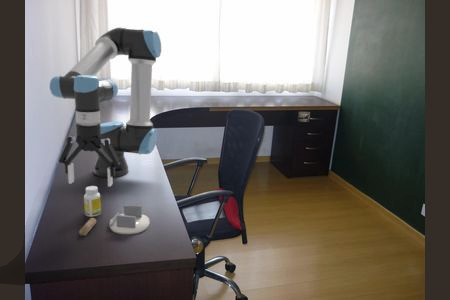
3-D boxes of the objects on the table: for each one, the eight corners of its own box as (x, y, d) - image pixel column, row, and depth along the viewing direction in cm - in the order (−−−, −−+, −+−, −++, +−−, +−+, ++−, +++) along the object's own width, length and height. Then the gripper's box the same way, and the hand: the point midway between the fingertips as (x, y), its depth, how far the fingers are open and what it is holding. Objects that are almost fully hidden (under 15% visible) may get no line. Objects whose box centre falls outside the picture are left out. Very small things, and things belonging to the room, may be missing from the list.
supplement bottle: (102, 210, 134) (101, 185, 131) (98, 217, 128) (97, 191, 126) (87, 209, 133) (86, 184, 131) (82, 216, 128) (81, 190, 125)
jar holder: (117, 214, 131) (116, 201, 130) (153, 217, 131) (153, 203, 129) (103, 232, 119) (103, 218, 117) (143, 235, 118) (143, 221, 117)
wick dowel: (89, 217, 124) (96, 218, 123) (89, 223, 124) (96, 224, 124) (79, 228, 116) (86, 229, 116) (79, 235, 117) (86, 236, 116)
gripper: (45, 123, 118) (49, 185, 124) (122, 128, 118) (123, 190, 123) (56, 118, 126) (60, 177, 131) (129, 123, 125) (129, 182, 130)
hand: (90, 183), depth 127 cm, fingers open, 13 cm apart
